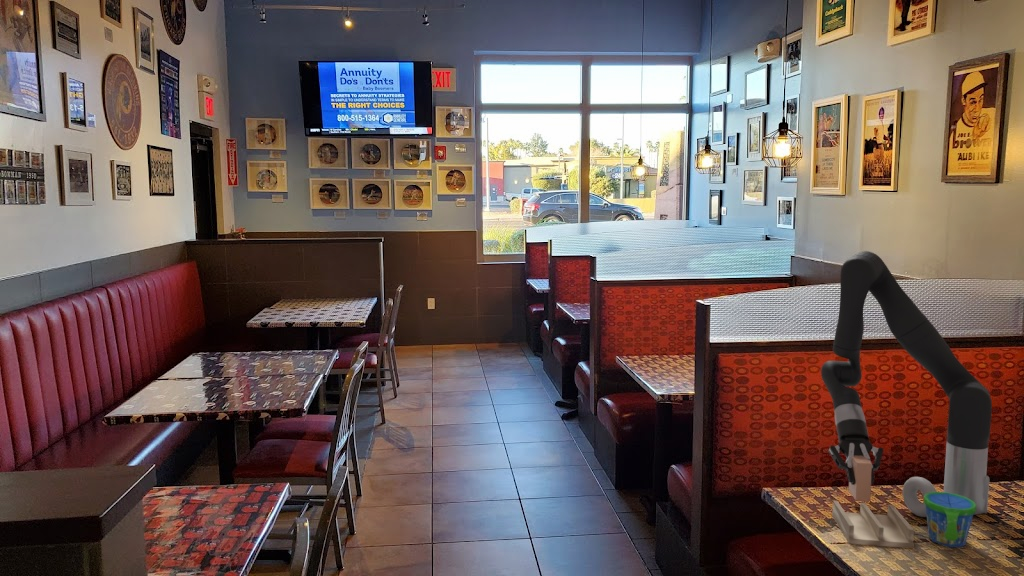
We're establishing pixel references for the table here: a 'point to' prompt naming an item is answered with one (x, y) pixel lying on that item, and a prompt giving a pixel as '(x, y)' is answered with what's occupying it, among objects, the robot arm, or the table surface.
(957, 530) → the snack cup
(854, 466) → the pink rectangular block
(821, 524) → the table surface
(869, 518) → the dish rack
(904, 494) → the grey ring
